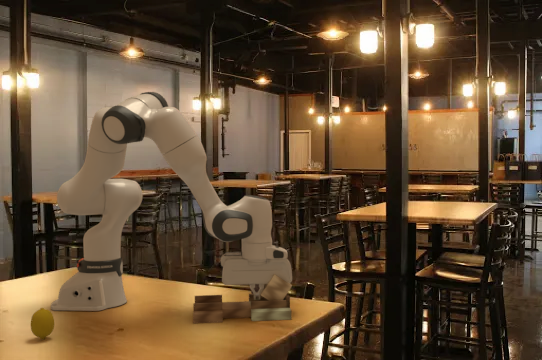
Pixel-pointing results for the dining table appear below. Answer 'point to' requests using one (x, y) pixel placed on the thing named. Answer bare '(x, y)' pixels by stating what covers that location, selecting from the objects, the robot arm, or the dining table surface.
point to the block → (276, 289)
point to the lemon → (42, 323)
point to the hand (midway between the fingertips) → (257, 299)
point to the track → (239, 309)
